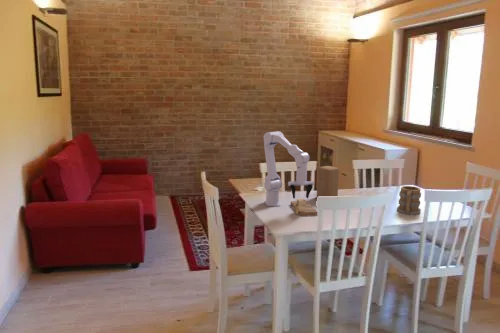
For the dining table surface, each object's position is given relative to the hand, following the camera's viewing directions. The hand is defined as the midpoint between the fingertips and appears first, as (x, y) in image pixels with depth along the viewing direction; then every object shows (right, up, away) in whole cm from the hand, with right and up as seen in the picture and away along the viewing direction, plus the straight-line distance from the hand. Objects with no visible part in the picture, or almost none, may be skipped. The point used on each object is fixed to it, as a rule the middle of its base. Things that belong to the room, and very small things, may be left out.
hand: (300, 197), depth 251 cm
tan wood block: (0, -9, +2) cm, 9 cm away
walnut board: (+3, -8, +9) cm, 12 cm away
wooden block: (+21, -3, +36) cm, 42 cm away
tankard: (+63, -9, +7) cm, 64 cm away
